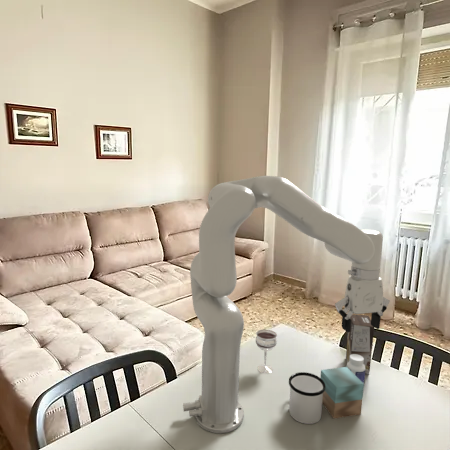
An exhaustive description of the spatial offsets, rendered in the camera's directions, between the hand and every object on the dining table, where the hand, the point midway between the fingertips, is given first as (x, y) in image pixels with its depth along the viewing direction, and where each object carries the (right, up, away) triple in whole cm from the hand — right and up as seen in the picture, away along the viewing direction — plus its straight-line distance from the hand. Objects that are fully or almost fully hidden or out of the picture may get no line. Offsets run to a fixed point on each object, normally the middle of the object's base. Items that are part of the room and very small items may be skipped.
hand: (360, 328), depth 103 cm
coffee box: (+4, -16, +13) cm, 21 cm away
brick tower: (-9, -19, -7) cm, 22 cm away
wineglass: (-27, -16, +10) cm, 33 cm away
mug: (-19, -19, -9) cm, 29 cm away
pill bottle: (-1, -18, +3) cm, 18 cm away
